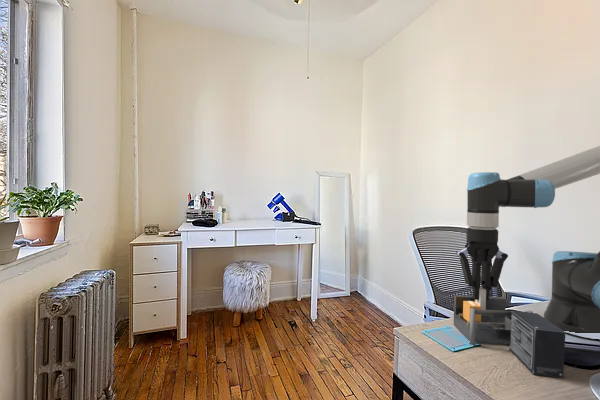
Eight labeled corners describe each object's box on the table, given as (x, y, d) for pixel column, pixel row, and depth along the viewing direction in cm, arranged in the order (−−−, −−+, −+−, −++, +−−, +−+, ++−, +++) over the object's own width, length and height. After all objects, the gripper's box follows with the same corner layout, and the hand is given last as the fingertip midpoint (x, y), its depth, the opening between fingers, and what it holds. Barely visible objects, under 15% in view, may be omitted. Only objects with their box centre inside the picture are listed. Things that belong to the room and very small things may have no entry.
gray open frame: (529, 347, 76) (530, 310, 75) (532, 349, 74) (533, 312, 74) (468, 343, 77) (469, 308, 77) (470, 346, 76) (471, 309, 76)
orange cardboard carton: (473, 317, 83) (474, 300, 83) (481, 323, 79) (481, 306, 79) (462, 317, 84) (463, 300, 83) (469, 323, 80) (469, 305, 80)
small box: (566, 379, 63) (568, 332, 62) (532, 375, 64) (534, 329, 64) (537, 352, 73) (538, 312, 73) (508, 349, 74) (509, 309, 74)
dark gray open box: (502, 327, 87) (503, 297, 86) (525, 345, 76) (526, 311, 76) (452, 324, 88) (453, 295, 88) (469, 342, 78) (469, 309, 77)
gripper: (499, 226, 84) (497, 306, 84) (452, 225, 85) (450, 304, 86) (515, 229, 76) (513, 317, 77) (463, 229, 77) (462, 315, 78)
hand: (480, 310), depth 81 cm, fingers closed
